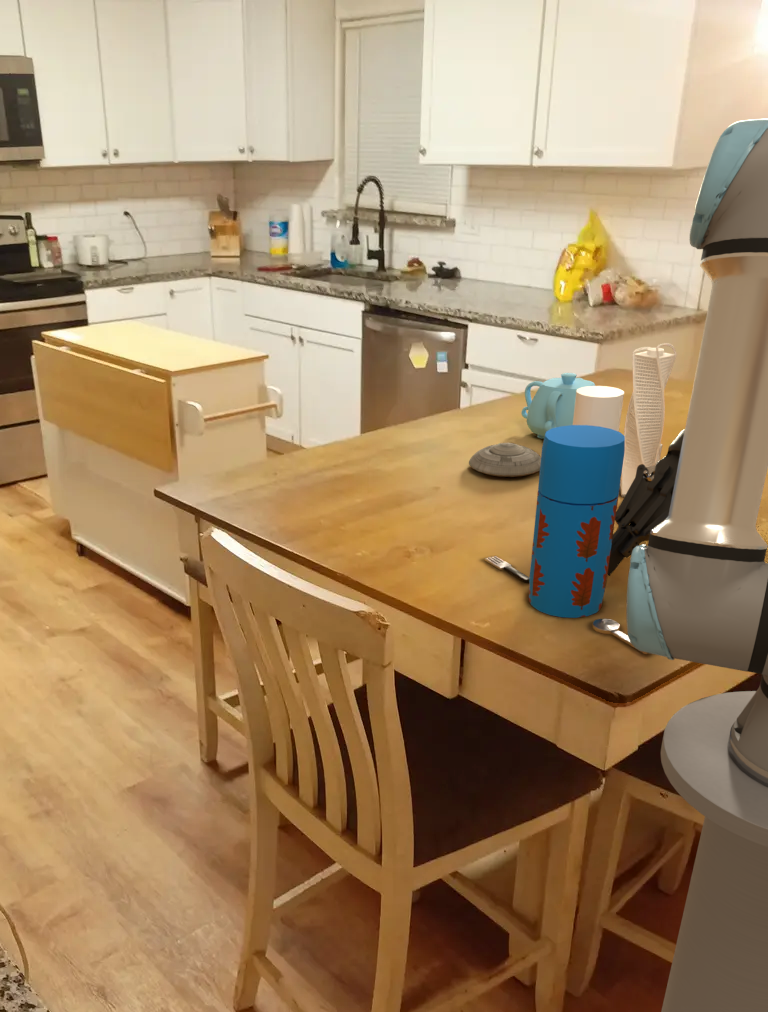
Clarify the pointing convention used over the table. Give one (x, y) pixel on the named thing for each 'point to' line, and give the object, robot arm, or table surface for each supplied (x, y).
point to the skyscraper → (645, 411)
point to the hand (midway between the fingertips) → (601, 569)
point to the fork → (506, 568)
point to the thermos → (575, 519)
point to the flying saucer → (506, 460)
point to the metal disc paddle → (611, 630)
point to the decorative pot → (552, 403)
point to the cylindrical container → (598, 406)
